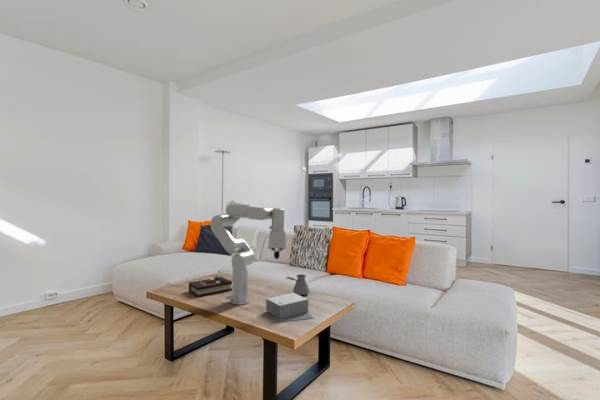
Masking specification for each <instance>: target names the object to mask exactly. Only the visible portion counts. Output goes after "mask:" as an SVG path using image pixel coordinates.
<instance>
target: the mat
mask: <svg viewBox="0 0 600 400" xmlns="http://www.w3.org/2000/svg"><path fill="white" fill-rule="evenodd" d="M274 317H275V320H276V322H277V323H285V322H291V321H294V322H295V321H303V320H311V319H313V320H314V317H313V316H312V315H311V313H310V312H309V311H308V312H304V313H300V314H297V315H293V316H289V317H286V318H282V319H279V318H277V317H276V316H274Z"/></svg>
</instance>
